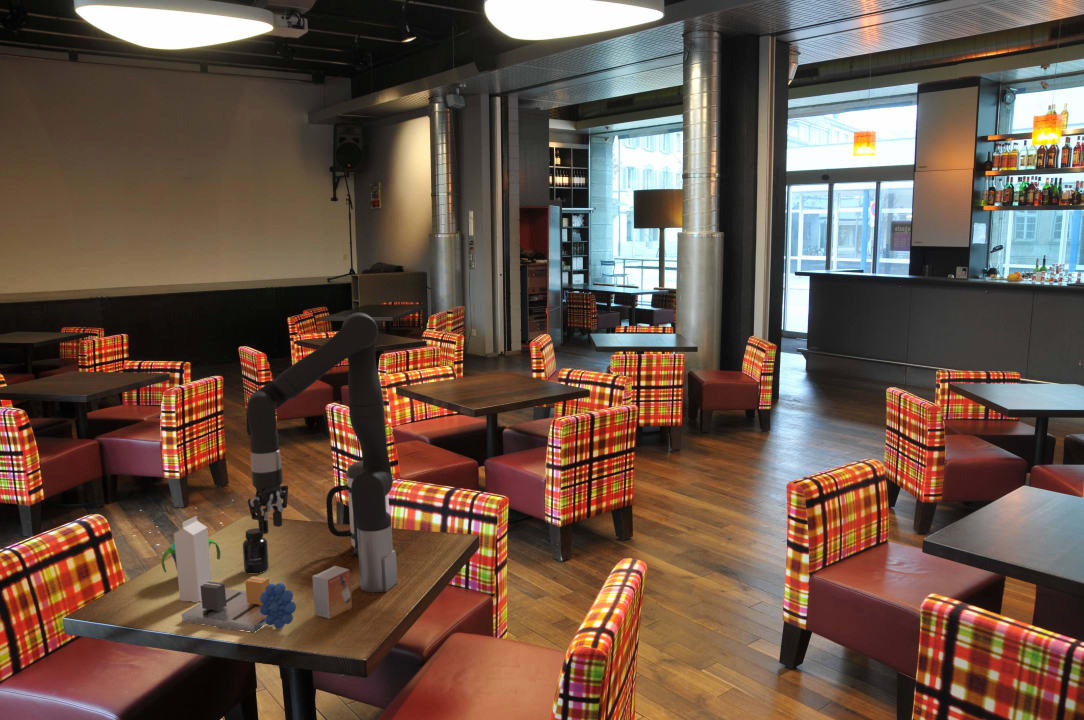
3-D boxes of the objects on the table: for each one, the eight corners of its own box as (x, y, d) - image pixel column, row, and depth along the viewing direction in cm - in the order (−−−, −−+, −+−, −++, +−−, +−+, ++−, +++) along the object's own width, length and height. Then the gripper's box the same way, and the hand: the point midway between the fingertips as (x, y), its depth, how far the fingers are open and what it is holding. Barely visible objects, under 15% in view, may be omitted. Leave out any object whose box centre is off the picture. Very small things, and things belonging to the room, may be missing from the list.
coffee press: (370, 535, 266) (365, 445, 262) (405, 545, 257) (401, 452, 252) (327, 553, 252) (321, 458, 248) (363, 564, 243) (357, 465, 239)
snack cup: (165, 589, 229) (161, 554, 227) (161, 576, 238) (158, 542, 236) (224, 577, 236) (221, 543, 235) (219, 564, 245) (216, 532, 244)
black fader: (226, 605, 212) (224, 582, 211) (218, 610, 209) (216, 587, 208) (210, 603, 213) (208, 580, 212) (202, 608, 211) (200, 585, 210)
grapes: (309, 626, 205) (306, 580, 203) (288, 637, 199) (286, 590, 197) (275, 616, 210) (272, 571, 209) (254, 627, 204) (251, 581, 203)
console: (294, 605, 217) (293, 597, 216) (254, 633, 202) (253, 625, 201) (225, 595, 224) (224, 588, 223) (182, 621, 209) (181, 613, 208)
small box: (329, 619, 208) (327, 580, 206) (314, 615, 211) (311, 575, 209) (352, 607, 215) (350, 569, 213) (337, 602, 217) (334, 564, 216)
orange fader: (270, 600, 214) (268, 577, 213) (263, 605, 212) (261, 582, 211) (254, 597, 216) (252, 575, 215) (247, 602, 213) (245, 580, 212)
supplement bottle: (253, 576, 236) (250, 536, 234) (239, 571, 240) (236, 531, 238) (274, 568, 241) (271, 529, 239) (260, 563, 245) (257, 525, 244)
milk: (179, 601, 221) (171, 522, 218) (194, 591, 227) (186, 514, 224) (199, 602, 220) (191, 523, 216) (213, 593, 225) (206, 515, 222)
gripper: (260, 476, 207) (265, 540, 210) (295, 461, 221) (299, 522, 223) (236, 473, 210) (241, 537, 212) (271, 459, 223) (276, 519, 226)
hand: (271, 529), depth 218 cm, fingers open, 5 cm apart
